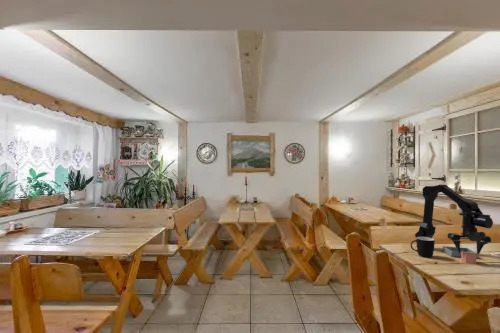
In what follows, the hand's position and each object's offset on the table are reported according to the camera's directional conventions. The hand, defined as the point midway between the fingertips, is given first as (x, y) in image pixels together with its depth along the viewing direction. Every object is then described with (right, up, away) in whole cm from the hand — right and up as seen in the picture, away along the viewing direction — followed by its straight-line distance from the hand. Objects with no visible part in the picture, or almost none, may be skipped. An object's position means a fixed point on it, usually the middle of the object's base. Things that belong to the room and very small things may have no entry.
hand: (468, 253), depth 162 cm
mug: (-19, -5, +10) cm, 22 cm away
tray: (+4, -5, +13) cm, 15 cm away
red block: (0, -5, 0) cm, 5 cm away
